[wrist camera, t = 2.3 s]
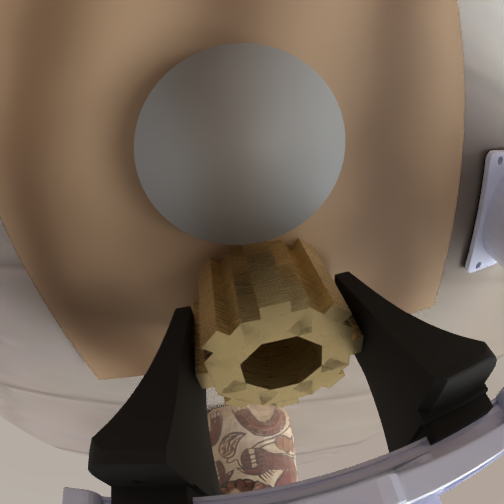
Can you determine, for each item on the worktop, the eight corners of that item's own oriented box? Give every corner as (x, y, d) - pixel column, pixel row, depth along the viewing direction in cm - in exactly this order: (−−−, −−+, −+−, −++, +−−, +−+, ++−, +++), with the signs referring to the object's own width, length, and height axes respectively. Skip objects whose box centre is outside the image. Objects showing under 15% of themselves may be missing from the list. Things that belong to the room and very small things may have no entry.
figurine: (268, 389, 20) (309, 556, 10) (299, 423, 24) (335, 548, 14) (180, 418, 21) (192, 569, 11) (225, 447, 25) (244, 565, 15)
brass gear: (326, 220, 12) (371, 281, 9) (326, 323, 16) (354, 386, 12) (176, 250, 12) (171, 324, 9) (211, 349, 15) (218, 418, 12)
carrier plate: (416, -90, 6) (479, -113, 2) (424, 293, 18) (463, 345, 14) (-31, -18, 5) (-96, -25, 1) (102, 363, 17) (91, 430, 13)
